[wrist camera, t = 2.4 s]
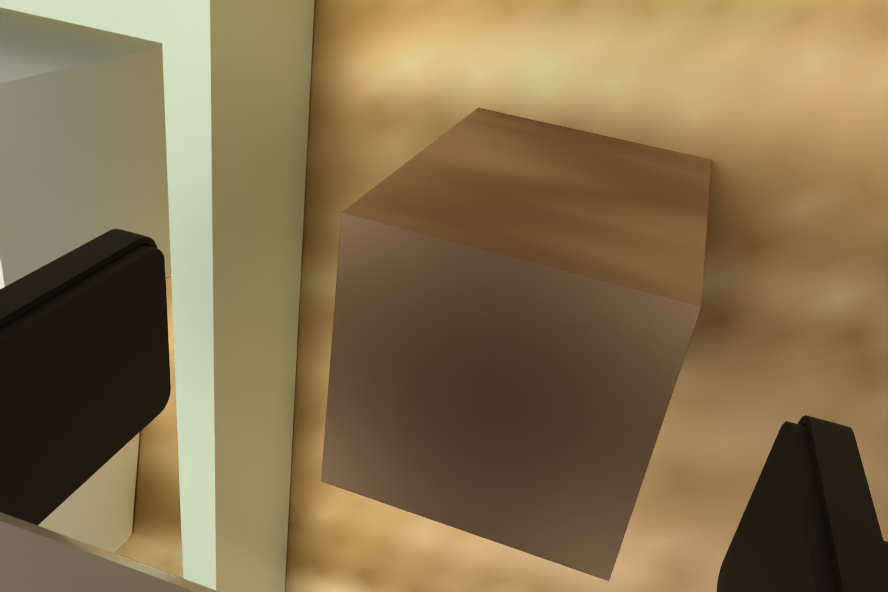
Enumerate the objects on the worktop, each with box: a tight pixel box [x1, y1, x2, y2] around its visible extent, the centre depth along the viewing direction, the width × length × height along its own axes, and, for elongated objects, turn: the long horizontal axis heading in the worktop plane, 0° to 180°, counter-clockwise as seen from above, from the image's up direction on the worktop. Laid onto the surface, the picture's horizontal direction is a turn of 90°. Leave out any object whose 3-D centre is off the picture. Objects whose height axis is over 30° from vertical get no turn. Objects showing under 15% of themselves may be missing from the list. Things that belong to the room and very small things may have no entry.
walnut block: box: [321, 108, 711, 581], centre depth 15 cm, size 5×5×7 cm
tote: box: [0, 0, 315, 592], centre depth 22 cm, size 15×23×4 cm, turn 172°
